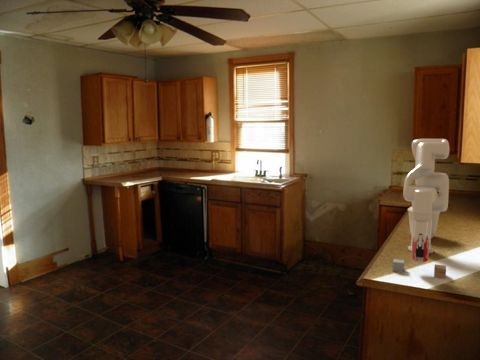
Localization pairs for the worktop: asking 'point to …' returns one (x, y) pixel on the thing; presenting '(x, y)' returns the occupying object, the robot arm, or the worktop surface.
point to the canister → (433, 216)
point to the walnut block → (440, 271)
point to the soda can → (426, 250)
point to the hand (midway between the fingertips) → (420, 254)
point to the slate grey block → (398, 265)
